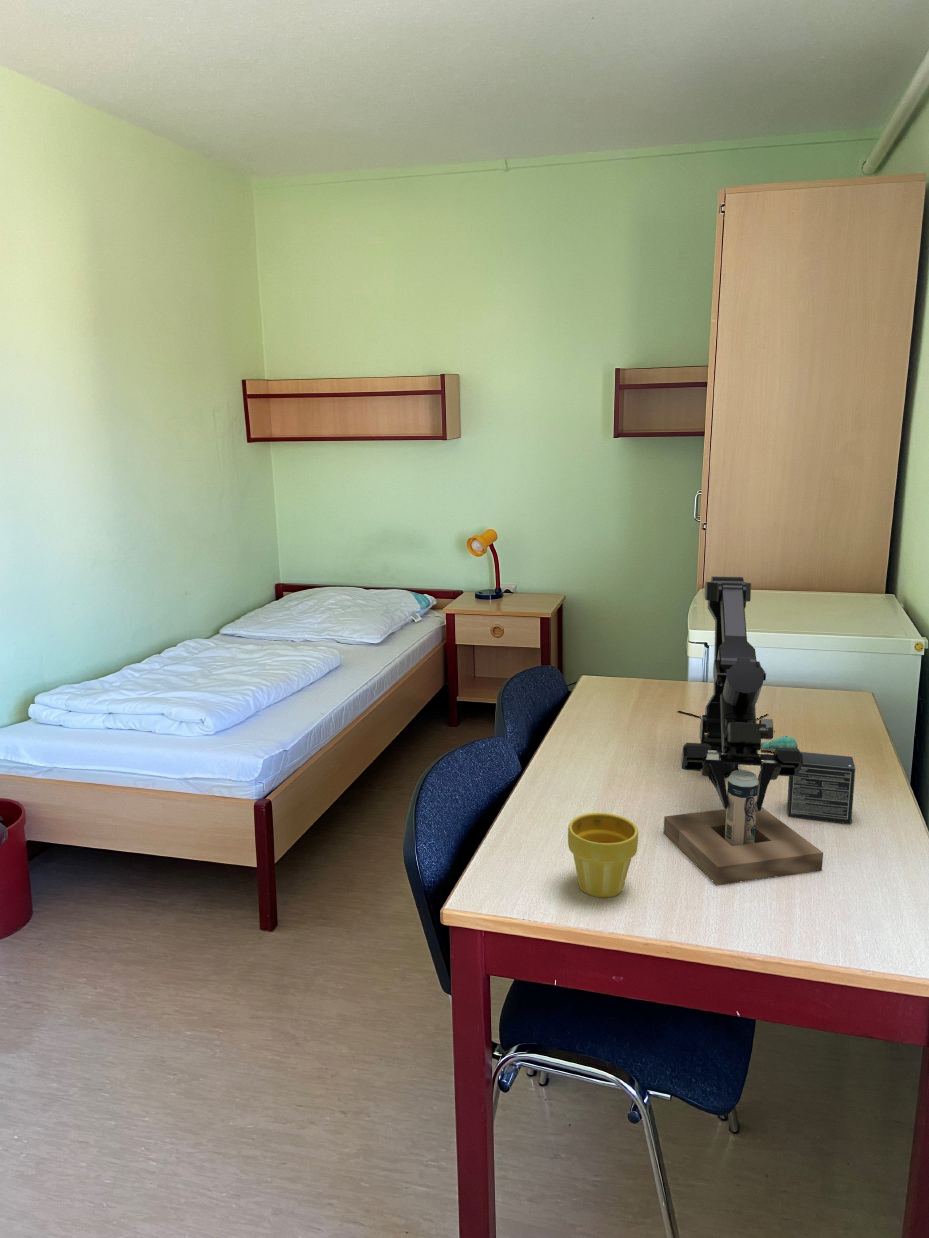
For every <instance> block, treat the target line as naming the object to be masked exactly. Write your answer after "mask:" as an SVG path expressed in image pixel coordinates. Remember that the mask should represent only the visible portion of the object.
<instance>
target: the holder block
mask: <svg viewBox="0 0 929 1238" xmlns="http://www.w3.org/2000/svg"><path fill="white" fill-rule="evenodd" d="M725 824H726V809H724V808H723V809H714V810H707V811H698V812H689V813H682V814H673V815H665V816H664V818H663V834H664V835H666V837H668V839H670V840H671V842H672V843H673V844H675V846H677V847H678V849H679V850H680V851H682V852H683V853H684V854H685V855H686V857H688V858H689V859H690V860H691V861H692V862H693V863H694V864H695V865H696V866H697V867H698V868H699V869H700V870H701V871H702V872H703V873H704V874H705V875H706V876H707V877H708V878H709V879H710V880H711V881H712V880H713V881H712V882H713V883H714V882H715V883H714V885H716V886H721V885H728V883H729V884H734V883H735V882H736V883H741V882H740V881H743V882H746V881H745V880H750V881H756V880H755V879H757V880H762V878H764V879H769V878H768V877H771V878H776V877H775V876H778V877H784V876H791V875H792V876H793V875H798V874H799V875H800V874H804V873H805V874H806V873H813V872H821V871H823V860H824V851H822V850H820V849H819V848H818V847H817V846H815V845H814V844H812V843H811V842H810V841H809V840H807V839H806V838H805V837H803V836H801V835H800V834H799V833H797V832H796V831H795V830H794V829H792V828H791V827H789V825H787V824H786V823H784V822H783V821H781V820H780V819H779V818H777V817H776V816H775V815H774V814H772V813H771V812H770V811H768V809H765V808H764V807H763V806H762V808H761V810H760V811H758V809H757V810H756V825H755V843H751V844H744V845H736V846H731V845H730V844H729V843H728V842H727V841H726V840H724V838H725Z"/></svg>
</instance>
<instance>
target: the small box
mask: <svg viewBox="0 0 929 1238" xmlns="http://www.w3.org/2000/svg"><path fill="white" fill-rule="evenodd" d="M801 752H802V755H803V765H802V767H801V769H800V771H799V774H798V775H797V776H794V777H793V776H788V790H787V804H786V808H787V809H786V811H787V816H788V817H789V818H796V819H805V820H811V821H812V820H813V821H814V820H815V821H822V822H831V823H839V824H847V825H851V824H853V805H854V791H855V779H856V769H857V768H856V765H855V762H854V757H853V756H849V755H838V754H827V753H818V752H817V753H815V752H807V751H805V752H804V751H801Z"/></svg>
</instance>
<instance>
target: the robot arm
mask: <svg viewBox="0 0 929 1238" xmlns="http://www.w3.org/2000/svg"><path fill="white" fill-rule="evenodd" d="M704 582H705V583H704V600H705V601H707V610H708V612H709V613H710V615H711V616H712V618H713V620H714V660H713V669H712V670H713V671H712V672H713V673H712V675H713V676H712V678H713V694H712V696H711V697H710V698H709V699H710V700H709V701H708V703H707V705H706V706H705V715H702V717H700V723H699V742H700V743H699V742H685V743H684V745H683V746H682V749H681V757H680V765H681V768H680V769H681V770H683V771H694V772H701V776H704V777H708V779H709V780H710V782H711V784H712V785H713V787H714V789H715V791H716V793H717V795H718V797H719V799H720V802H721V805H722V807H723V809H727V806H728V804H727V787H726V786H727V785H726V780H725V778H726V777H727V778H728V777H729V776H730V774H731V773H732V772H733V771H736V770H740V769H739V766H740V765H742V766H757V767H760V768H759V773H758V775H757V779H758V781H759V783H758V795H757V809H758V811H760V810H761V808H762V807H763V804H764V800H765V797H766V794H767V789H768V786H769V783H770V782H771V781H776V780H777V779H778V778H779V777H789V776H793V777H794V776H797V775H798V774H799V771H800V769H801V767H802V765H803V755H802V752H803V751H801V750H800V749H799V748H779V747H776V750H775V752H774V753H773V754H765V753H759V751H761V750H762V749H761V743H762V740H773V738H774V721H773V719H772V718H771V719H770V718H761V719H759V720H758V721H759V722H758V723H757V719H756V710H757V709H756V708H757V707H756V704H757V703H758V700H759V698H760V694H761V691H762V687H763V683H764V681H767V679H766V677H767V673H766V671H765V670H764V668H763V667H762V665H761V663H760V661H757V655H756V648H755V647H754V646H752V644H751V643H750V642H749V641H748V635H747V623H746V621H747V620H746V611H745V609H746V608H747V603H748V602H751V597H752V596H751V595H752V594H751V593H752V582H745V580H744V577H743V576H711V578H710V581H704Z"/></svg>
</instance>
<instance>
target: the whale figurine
mask: <svg viewBox="0 0 929 1238" xmlns="http://www.w3.org/2000/svg"><path fill="white" fill-rule="evenodd" d="M776 747H779V748H798V747H799V746H798V743H797V741H796V739H795V738H794V737H792V736H789V735H783V736H780V737H778V738H774V739H771V741H768V742H767V741H764V742H761V749H760V750H762V751H768V752H770V751H771V753H773V752H775V750H776ZM798 749H799V748H798Z"/></svg>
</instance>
